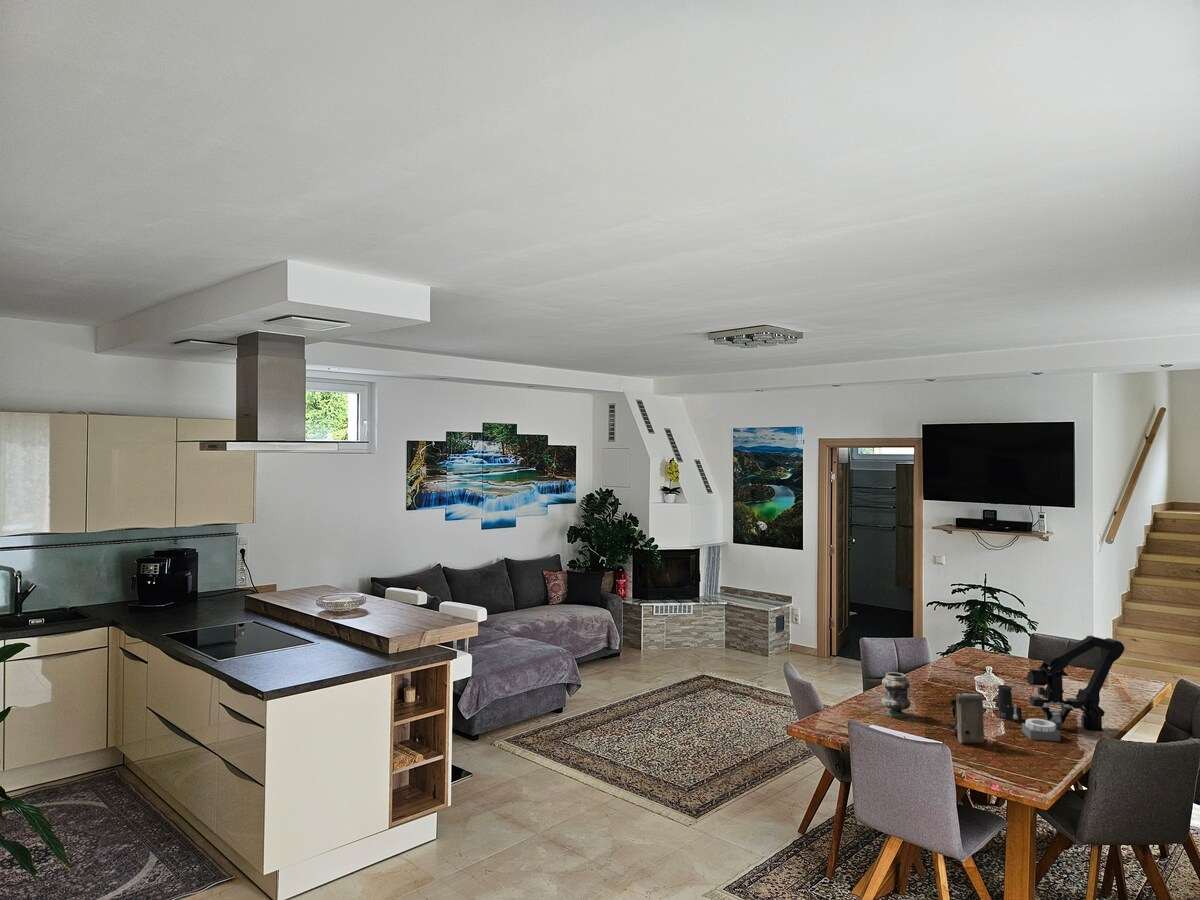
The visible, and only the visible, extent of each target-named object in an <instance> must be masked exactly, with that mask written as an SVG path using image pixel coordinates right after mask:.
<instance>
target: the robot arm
mask: <svg viewBox="0 0 1200 900" xmlns="http://www.w3.org/2000/svg"><path fill="white" fill-rule="evenodd" d="M1094 648H1099V652H1100V657H1099V659H1098V662H1097V664H1096V666H1095V669H1094V670H1093V673H1092V675H1091V677H1090V679H1089V682H1088V684H1087V686H1086V687H1085V688H1084V689H1082V688H1079V689H1078V691H1077V693H1076V695H1075V698H1071V697H1067V698H1066V699H1063V698H1064V694H1065V692H1064V688H1063V687H1064V686H1063V683H1064V682H1063V677H1068V676H1069V674H1068V673H1066V671H1065V670H1064V669H1065V668H1067V667H1068V666H1069V665H1070V663H1071V662H1072V661H1073V660H1075V659H1077V658H1078V657H1080V656H1082V655H1084V654H1085V653H1087V652H1088V651H1090V650H1092V649H1094ZM1125 650H1126V649H1125V645H1124V644H1123V643H1122V642H1121V641H1119V640H1116V639H1113V638H1110V637H1107V638H1102V637H1097V636H1094V635H1087V636H1086V637H1084V638H1083V639H1081V640H1080V641H1078V642H1077V643H1074V644H1072V645H1071V646H1069V647H1067V648H1066V649H1063V650H1061V651H1057V652H1053V653H1050V654H1048V655H1046V656H1045V657H1044V661H1043V662H1042V663H1041V665H1040V666H1039V668H1037V669H1034V668H1029V670H1028V671H1029V672H1027V674H1026V680H1027V683H1028V685H1029V686H1031V687H1032V686H1033V687H1035V686H1037V695H1038V696H1029V698H1028V702H1029V704H1030V705H1031V706H1033V707H1036V708H1037V707H1039V708H1040V709H1042V711H1043V714H1044V716H1045V718H1046V719H1045V720H1046V721H1047V720H1048V721H1050V707H1049V706H1048V705H1056V706H1060V709H1061V711H1062V725H1063V724H1064V723H1065V721H1066V719H1067V717H1068V715H1070V712H1072V711H1074V710H1075V709H1076V710H1077V709H1078V710H1080V711H1081V712H1082V715H1081V716H1080V718H1081V719H1080V720H1081V723H1080V726H1081V727H1083V728H1084V729H1085V730H1087V731H1097V732H1100V731H1102V732H1104V728H1103V722H1102V720H1103V718H1102V717H1104V716H1105V710H1103V708H1101V707H1100V706H1099V705H1100V701H1101V699H1100V698H1101V697H1100V692H1101V690H1102V687H1103V686H1104V683H1105V682H1106V679H1107V678H1108V675H1109V673H1110V671H1111V668H1112V666H1113V664H1114V663H1115V662H1116V661H1117V660H1118V659H1120V657H1121V656H1122V655H1123V654H1124V652H1125ZM1039 686H1040V687H1039ZM1044 687H1045V688H1044ZM1041 696H1042V698H1041Z"/></svg>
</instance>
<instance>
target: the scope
mask: <svg viewBox="0 0 1200 900" xmlns="http://www.w3.org/2000/svg"><path fill="white" fill-rule="evenodd" d="M997 689H998V691H997V701H996V702H995V704H994V706H995V707H996V708H997V709H998V710H999V718H1000V717H1001V718H1002V719H1001V718H1000V719H1001V720H1004V719H1006V720H1005V721H1010V720H1011V722H1013V723H1017V724H1019V723H1020V722H1021V721H1022V715H1023V712H1022V707H1019V706H1017V704H1013V695H1012V686H1010V685H1006V684H1005V685H1004V684H999V685H997Z"/></svg>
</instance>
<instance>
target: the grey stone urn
mask: <svg viewBox="0 0 1200 900" xmlns="http://www.w3.org/2000/svg"><path fill="white" fill-rule="evenodd" d="M881 684H882V685H883V687H884V696H883V697H882V698H881V704H882V705H883V706H884V707H886V708H887V709H889V710H886V711H885V712H884V715H885V716H886V717H888V716H889V718H892V717H893V719H906V718H908V717H909V714H908V713H907V712H905V710H907V709H909V708H910V707H911V704H912V703H911V700H910V699H909V698H908V689H909V688H910V686H911V682H910V681H909V680H908V679H907V676H906V674H904V673H901V672H895V671H894V672H893V671H891V672H890V671H889V672H886V673H885V677H884V678H882V680H881ZM903 710H904V711H903Z"/></svg>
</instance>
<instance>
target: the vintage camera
mask: <svg viewBox="0 0 1200 900" xmlns="http://www.w3.org/2000/svg"><path fill="white" fill-rule="evenodd" d="M949 702H950V706H953V707H952V710H951V712H952V715H953V716H952V717H953V718H954V719H955V720H954V721H955V723H951V722H949V721H948V722H947V723H944V725H945V726H947V727H948V728H949V729H950V730H952V731H954V733H955V734H957V741H958V743H959V744H963V745H964V744H965V745H967V744H968V745H969V744H972V745H973V744H984V741H985V733H984V732H985V731H984V730H985V729H984V701H983V696H982V694H981V692H973V693H965V692H964V693H961V692H958V693H957V694H956V697H955V699H951V700H949Z"/></svg>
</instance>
